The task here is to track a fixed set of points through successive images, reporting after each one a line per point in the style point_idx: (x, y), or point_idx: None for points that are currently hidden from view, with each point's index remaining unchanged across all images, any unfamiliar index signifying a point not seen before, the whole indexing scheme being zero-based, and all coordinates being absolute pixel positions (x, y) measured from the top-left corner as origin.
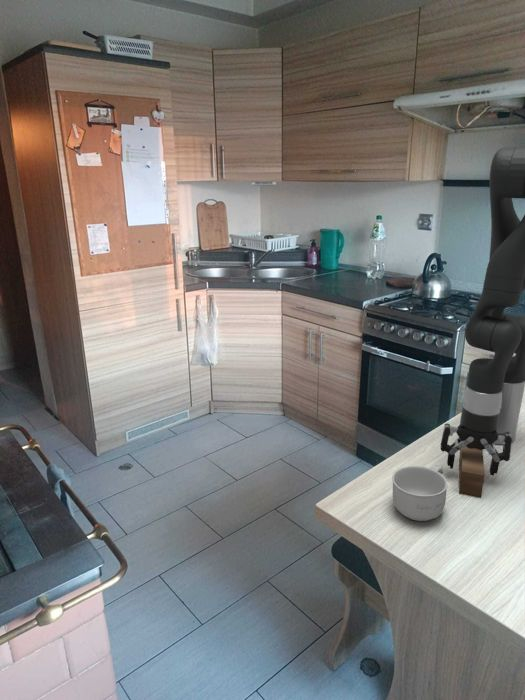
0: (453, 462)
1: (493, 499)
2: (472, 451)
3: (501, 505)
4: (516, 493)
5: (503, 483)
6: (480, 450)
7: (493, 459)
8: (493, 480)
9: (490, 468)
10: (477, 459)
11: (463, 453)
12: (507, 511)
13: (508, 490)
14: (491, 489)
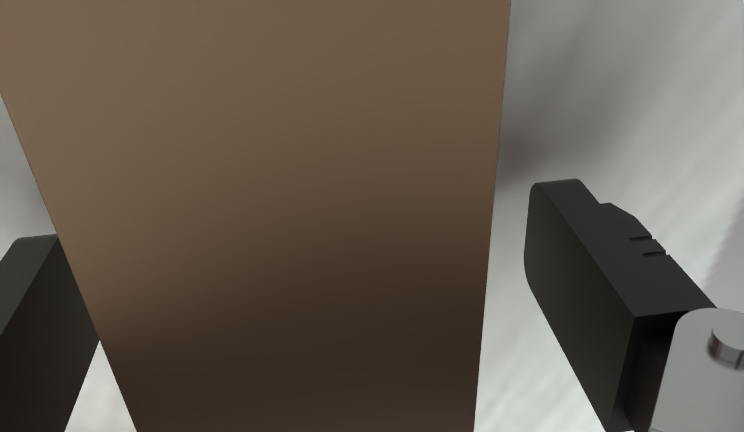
0: (66, 403)
1: (499, 360)
2: (287, 247)
3: (544, 394)
4: (706, 228)
5: (638, 122)
6: (451, 139)
7: (634, 391)
8: (547, 108)
9: (549, 232)
10: (385, 419)
11: (138, 366)
12: (570, 427)
13: (650, 214)
14: (503, 256)
